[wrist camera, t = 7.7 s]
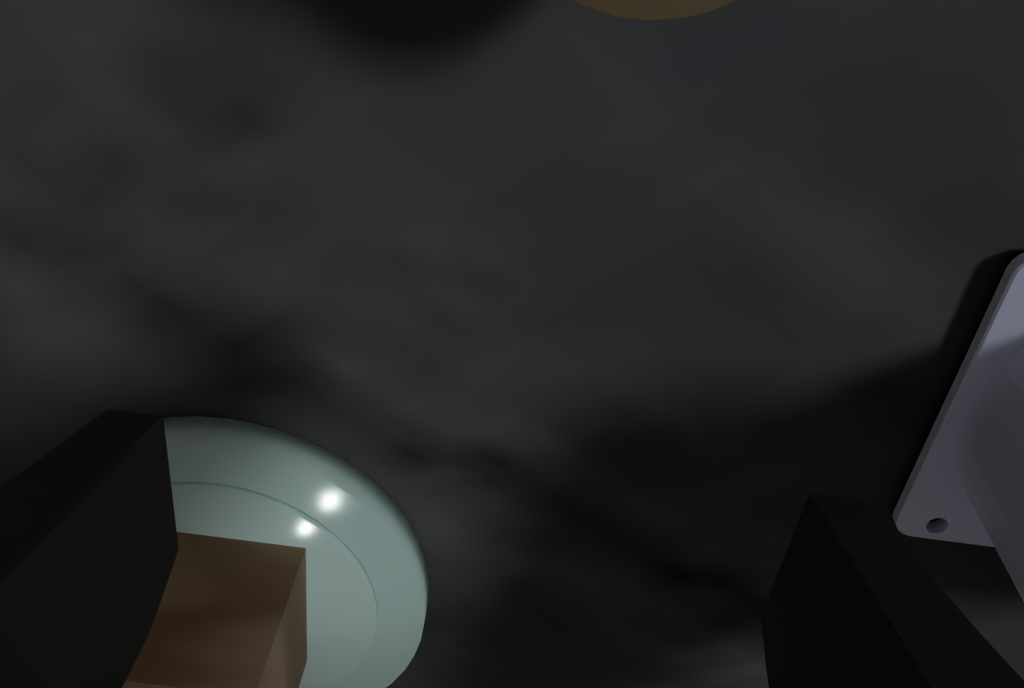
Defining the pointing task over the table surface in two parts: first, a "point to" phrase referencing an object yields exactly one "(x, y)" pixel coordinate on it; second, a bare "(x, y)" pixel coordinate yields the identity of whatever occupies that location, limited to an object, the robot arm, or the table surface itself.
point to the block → (228, 618)
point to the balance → (653, 8)
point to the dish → (310, 539)
